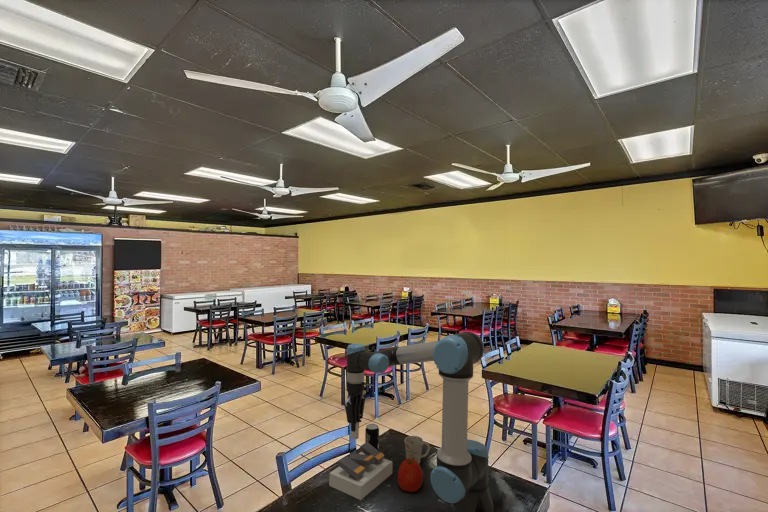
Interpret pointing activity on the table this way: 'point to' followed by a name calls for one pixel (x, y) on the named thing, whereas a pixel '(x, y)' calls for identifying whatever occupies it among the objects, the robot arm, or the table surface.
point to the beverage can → (372, 435)
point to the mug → (415, 448)
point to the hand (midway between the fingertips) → (355, 438)
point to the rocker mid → (363, 459)
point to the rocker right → (372, 452)
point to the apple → (410, 475)
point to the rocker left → (351, 467)
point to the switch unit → (360, 479)
